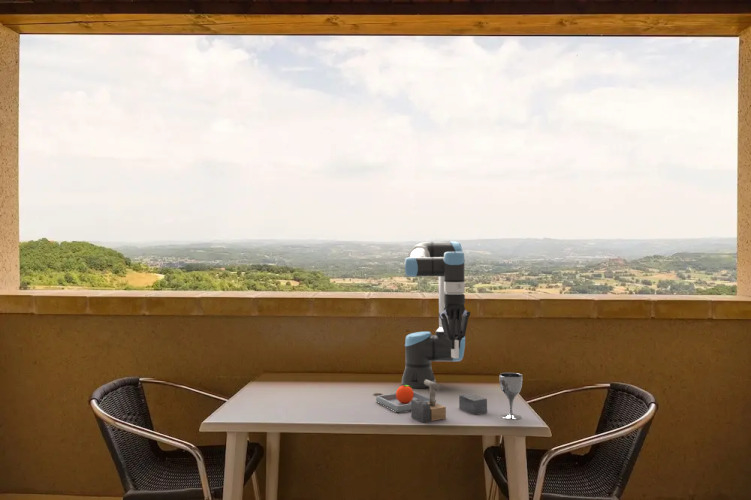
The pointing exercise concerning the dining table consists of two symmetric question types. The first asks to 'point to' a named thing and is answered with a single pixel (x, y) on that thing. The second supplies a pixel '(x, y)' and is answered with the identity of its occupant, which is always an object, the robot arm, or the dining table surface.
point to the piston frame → (466, 403)
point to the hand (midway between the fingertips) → (455, 357)
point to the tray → (397, 406)
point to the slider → (435, 409)
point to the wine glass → (511, 391)
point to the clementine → (404, 394)
